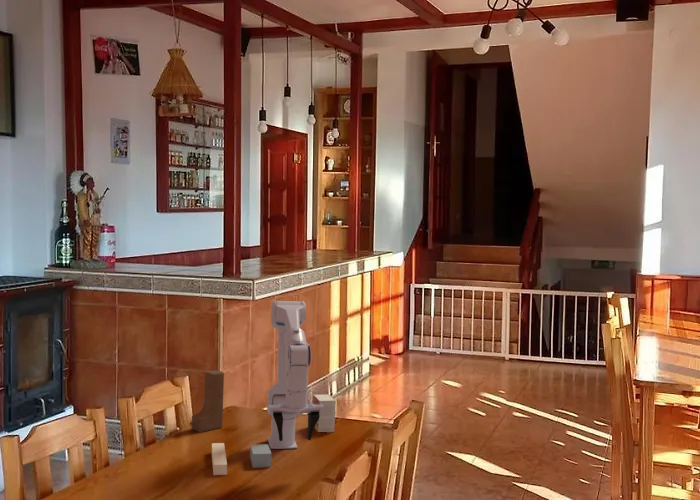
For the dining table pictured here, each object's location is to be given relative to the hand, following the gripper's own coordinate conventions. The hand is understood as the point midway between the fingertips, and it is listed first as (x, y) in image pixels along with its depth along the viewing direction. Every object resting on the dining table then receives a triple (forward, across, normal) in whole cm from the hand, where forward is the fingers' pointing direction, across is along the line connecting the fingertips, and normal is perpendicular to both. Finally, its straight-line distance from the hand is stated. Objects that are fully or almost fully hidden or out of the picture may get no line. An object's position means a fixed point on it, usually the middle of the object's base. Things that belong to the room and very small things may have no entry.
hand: (294, 439), depth 204 cm
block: (+10, -8, +11) cm, 17 cm away
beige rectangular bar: (+10, -19, +11) cm, 24 cm away
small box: (+10, +15, +40) cm, 44 cm away
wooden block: (+10, -22, +43) cm, 50 cm away
